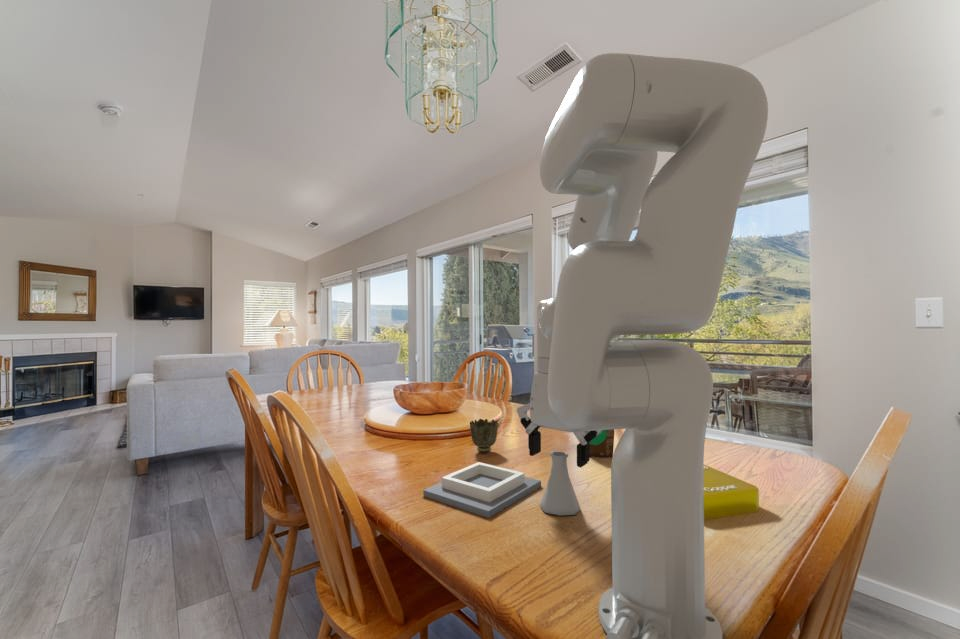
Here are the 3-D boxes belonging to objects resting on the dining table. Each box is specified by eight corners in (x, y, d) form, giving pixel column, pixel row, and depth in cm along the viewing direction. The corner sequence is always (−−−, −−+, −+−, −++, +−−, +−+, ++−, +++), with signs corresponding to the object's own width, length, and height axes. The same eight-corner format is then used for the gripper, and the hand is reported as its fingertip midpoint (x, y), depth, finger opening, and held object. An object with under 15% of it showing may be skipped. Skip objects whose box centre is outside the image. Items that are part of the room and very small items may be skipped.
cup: (464, 454, 112) (464, 423, 112) (478, 446, 118) (477, 417, 119) (490, 458, 108) (490, 426, 109) (503, 450, 115) (502, 420, 115)
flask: (581, 518, 74) (580, 460, 75) (538, 515, 76) (537, 458, 76) (579, 501, 82) (579, 448, 82) (541, 499, 83) (540, 446, 83)
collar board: (488, 518, 75) (488, 499, 75) (423, 496, 85) (423, 479, 85) (541, 486, 89) (540, 470, 89) (480, 470, 99) (479, 456, 99)
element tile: (693, 523, 73) (692, 495, 73) (639, 490, 88) (639, 466, 88) (765, 513, 77) (764, 486, 77) (702, 483, 91) (701, 460, 91)
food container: (566, 449, 115) (565, 411, 115) (585, 446, 118) (584, 409, 118) (597, 462, 104) (596, 420, 104) (617, 458, 107) (616, 418, 107)
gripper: (611, 368, 77) (611, 463, 77) (528, 361, 87) (528, 445, 88) (594, 373, 71) (594, 476, 71) (507, 365, 82) (507, 455, 82)
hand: (557, 459), depth 80 cm, fingers open, 9 cm apart
